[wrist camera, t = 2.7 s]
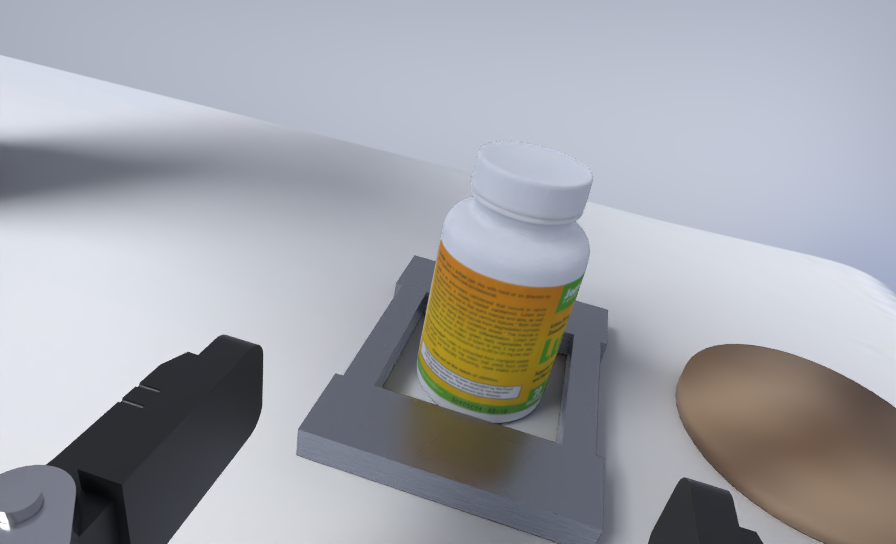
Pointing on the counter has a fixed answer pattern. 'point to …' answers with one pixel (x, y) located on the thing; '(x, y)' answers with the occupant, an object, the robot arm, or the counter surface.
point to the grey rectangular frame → (467, 431)
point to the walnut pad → (795, 440)
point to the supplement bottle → (505, 282)
